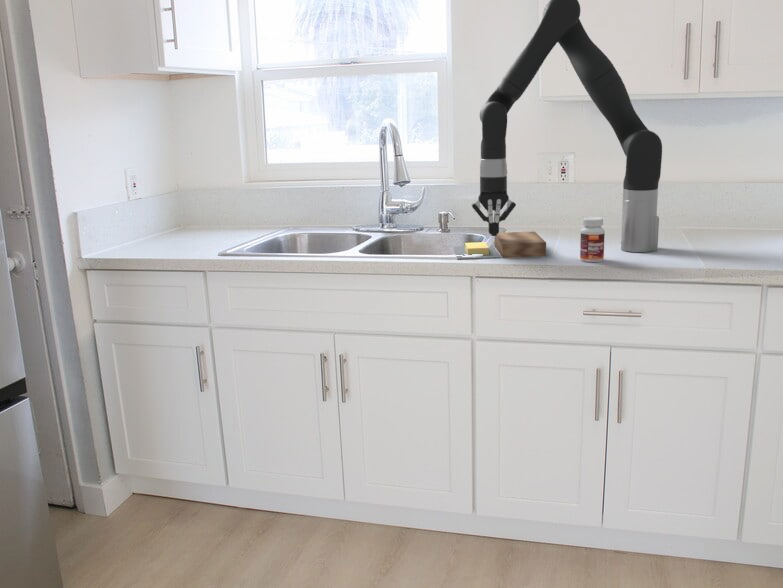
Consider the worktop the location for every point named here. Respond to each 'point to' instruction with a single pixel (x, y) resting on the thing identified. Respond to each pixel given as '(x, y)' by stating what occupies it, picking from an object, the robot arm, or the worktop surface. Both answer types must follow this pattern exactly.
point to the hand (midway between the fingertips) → (493, 235)
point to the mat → (461, 251)
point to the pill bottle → (592, 240)
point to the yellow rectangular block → (477, 248)
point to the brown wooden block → (520, 244)
